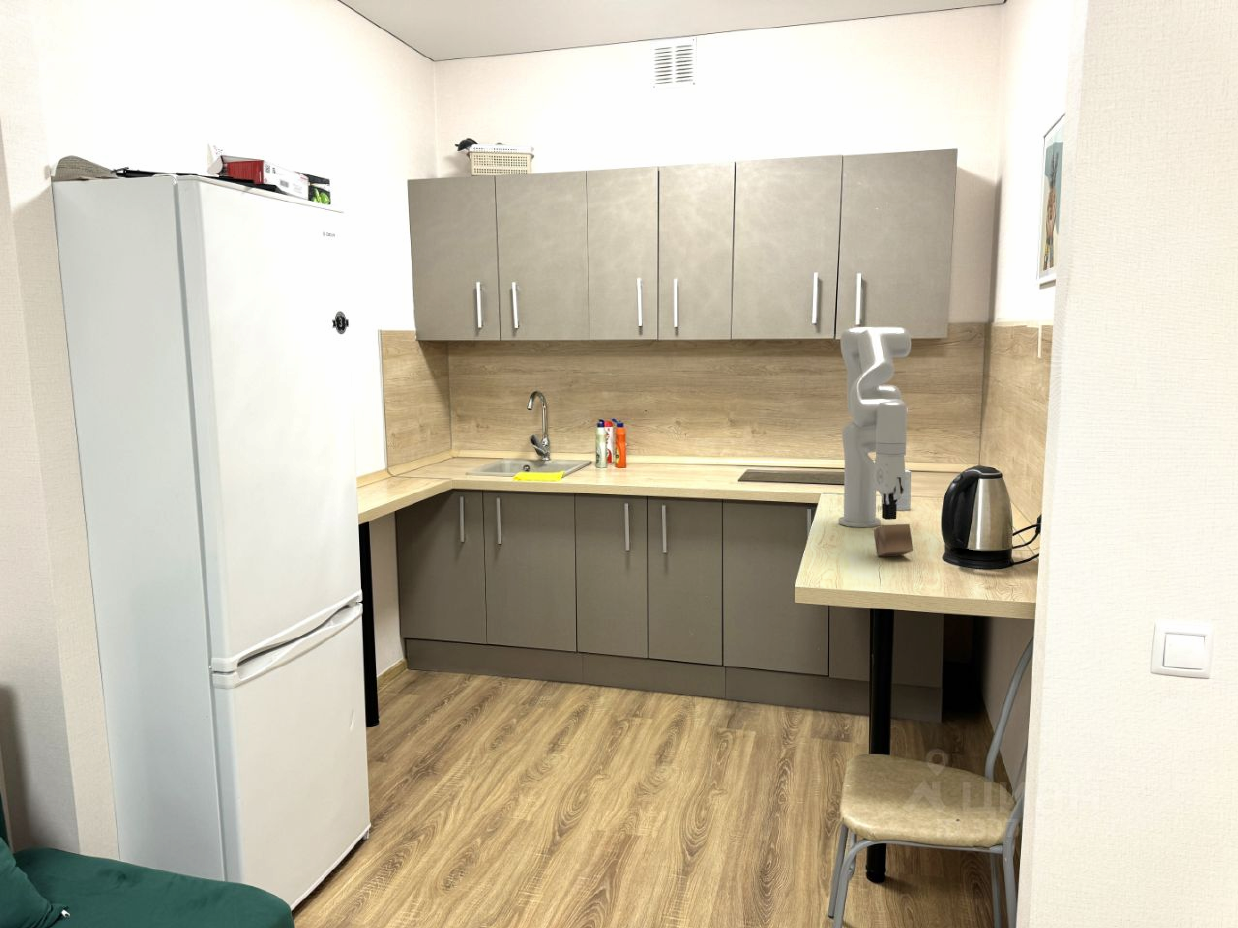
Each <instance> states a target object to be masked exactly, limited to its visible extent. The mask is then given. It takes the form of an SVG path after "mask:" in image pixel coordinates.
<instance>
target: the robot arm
mask: <svg viewBox="0 0 1238 928" xmlns="http://www.w3.org/2000/svg"><path fill="white" fill-rule="evenodd" d="M839 343H840V351H841V355H842V359H843V362H844V364H845V367H846V373H847V375H846V377H847V378H846V379H847V381H846V383H847V387H846V388H847V389H846V391H847V393H846V395H847V398H846V400H847V402H846V404H847V410H848V413H849V414H850V415H851V417H852V420H853V421H852V422H851V421H850V422H849V423H846V424H845V426H844V427H843V428H842V432H841V433H842V434H841V437H842V444H843V454H844V482H843V483H844V487H843V489H844V490H843V492H844V493H843V501H844V502H843V516H841V517H840V518H838V524H839V525H843V526H846V527H851V528H852V527H853V528H872V527H879V526H881V524H882V521H881V520H882V519H883V520H896V519H897V512H898V510H897V502H898V500H899V499H901V494H902V493H904V491H905V469H906V462H905V456H907V434H908V433H907V432H908V430H907V428H908V414H909V410H908V406H907V404H906V403H905V402H904V401H903V397H902V393H901V390H900V389H899V387H897V386H896V385H892V384H886V383H887V382H888V381H890V380H891V379H892V378H893V376H894V375H895V366H894V362H893V358H906V357H908V356H909V355H910V353H911V350H912V337H911V335H910V332H909V330H907V328H905V327H901V326H856V327H850V328H847V329H845V330H844V331H842V333H841V336H840V342H839ZM870 453H871V454H873V453H875V459H874V460H873V459H872V457H870V455H869V454H870ZM893 491H894V492H893ZM877 492H878V493H879V494H880V495H881V508H882V509H881V510H882V512H881V518H882V519H880V518H877V517H876V516H877ZM882 503H884V504H882Z"/></svg>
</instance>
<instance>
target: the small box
mask: <svg viewBox="0 0 1238 928" xmlns="http://www.w3.org/2000/svg"><path fill="white" fill-rule="evenodd" d="M893 492H894V491H893ZM911 500H912V471H911V470H909V469H906V468H905V491H904V493H902V494H901V499H899V500H898V502H897V511H911V502H912V501H911ZM882 504H884V503H882V502H881V505H882Z"/></svg>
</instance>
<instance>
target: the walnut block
mask: <svg viewBox="0 0 1238 928" xmlns="http://www.w3.org/2000/svg"><path fill="white" fill-rule="evenodd" d="M873 537H874V545H875V553H876V557H891V556H904V555H907V554H909V553H913V552H914V545H913V539H912V538H913V537H912V532H911V523H902V524H901V523H899V524H883V525H879V526H877V528H874V529H873Z"/></svg>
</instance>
